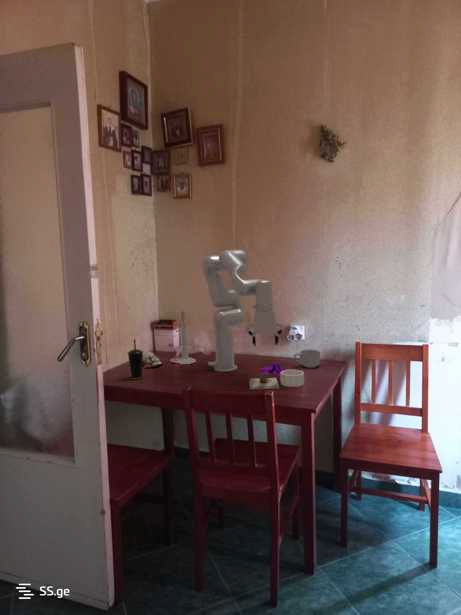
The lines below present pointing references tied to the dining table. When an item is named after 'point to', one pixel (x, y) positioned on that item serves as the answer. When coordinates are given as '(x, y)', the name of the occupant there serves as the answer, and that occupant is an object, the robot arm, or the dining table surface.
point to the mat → (259, 388)
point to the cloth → (274, 369)
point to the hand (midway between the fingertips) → (265, 344)
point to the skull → (150, 359)
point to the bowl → (292, 378)
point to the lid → (263, 382)
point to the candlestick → (184, 344)
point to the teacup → (308, 358)
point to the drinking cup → (135, 362)
